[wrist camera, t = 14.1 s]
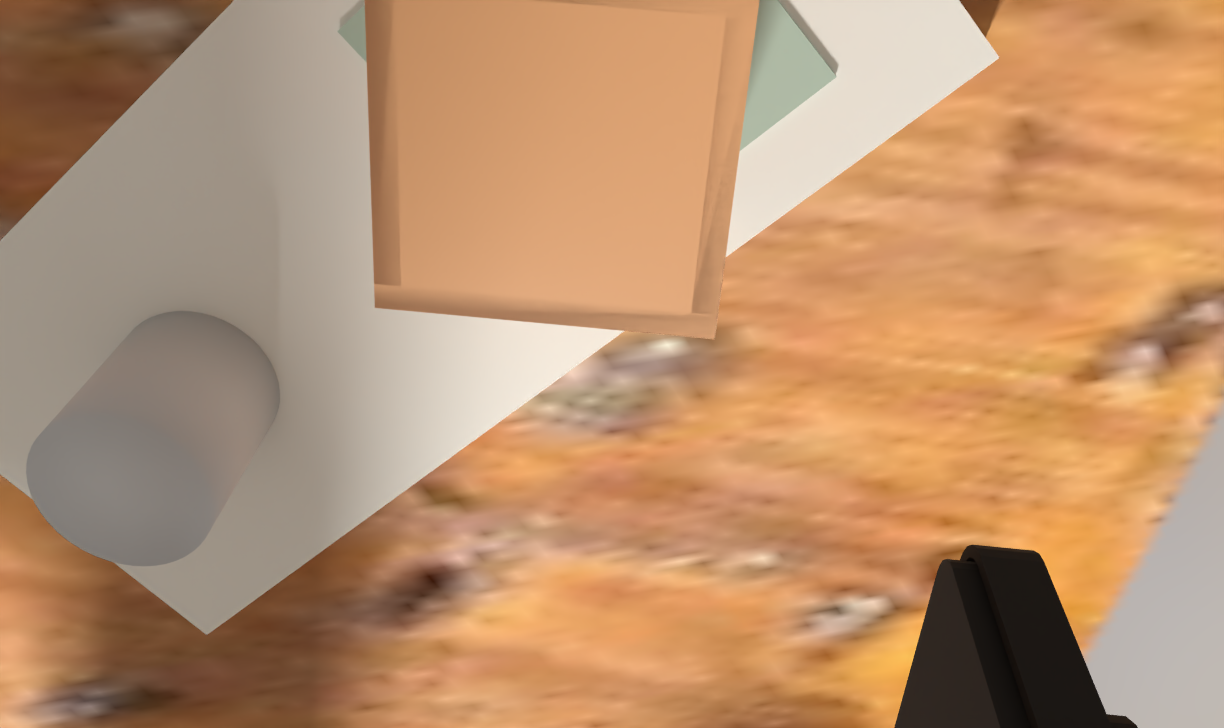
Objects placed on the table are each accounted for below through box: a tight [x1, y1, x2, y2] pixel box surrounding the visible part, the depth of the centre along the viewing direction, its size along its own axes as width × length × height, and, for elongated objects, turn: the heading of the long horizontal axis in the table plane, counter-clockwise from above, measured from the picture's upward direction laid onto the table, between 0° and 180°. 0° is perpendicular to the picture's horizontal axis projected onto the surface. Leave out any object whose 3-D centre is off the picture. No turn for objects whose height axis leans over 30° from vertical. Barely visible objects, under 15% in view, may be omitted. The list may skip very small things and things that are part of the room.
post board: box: [0, 0, 999, 635], centre depth 28 cm, size 12×28×6 cm, turn 131°
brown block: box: [364, 0, 759, 339], centre depth 23 cm, size 6×6×7 cm
